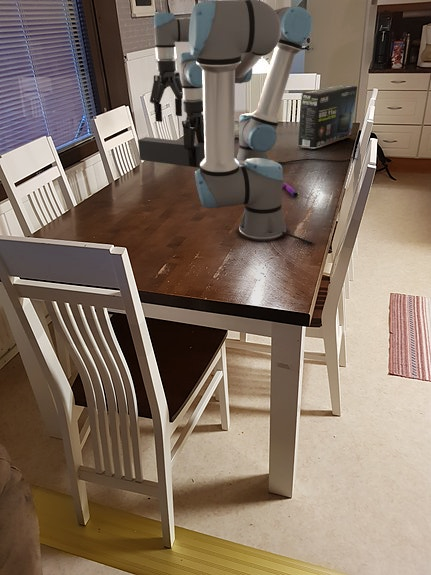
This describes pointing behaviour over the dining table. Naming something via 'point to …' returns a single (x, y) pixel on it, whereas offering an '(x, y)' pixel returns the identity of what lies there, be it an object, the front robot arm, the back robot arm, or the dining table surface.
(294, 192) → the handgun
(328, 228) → the dining table surface
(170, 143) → the bar
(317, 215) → the dining table surface
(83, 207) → the dining table surface
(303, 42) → the back robot arm
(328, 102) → the router box
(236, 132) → the fossil
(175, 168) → the dining table surface
